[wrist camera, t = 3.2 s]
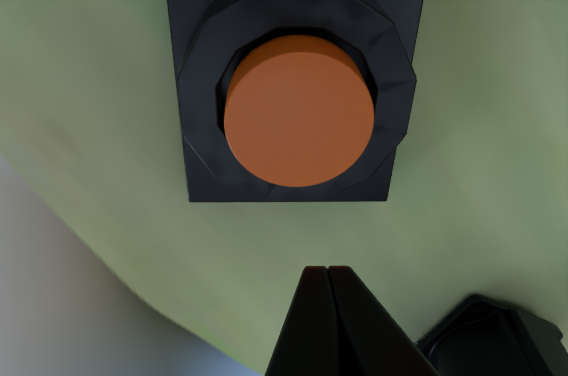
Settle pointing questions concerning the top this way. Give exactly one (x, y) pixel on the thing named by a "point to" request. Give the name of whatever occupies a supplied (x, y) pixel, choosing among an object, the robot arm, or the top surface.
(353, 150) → the button
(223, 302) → the top surface
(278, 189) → the block
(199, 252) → the top surface
